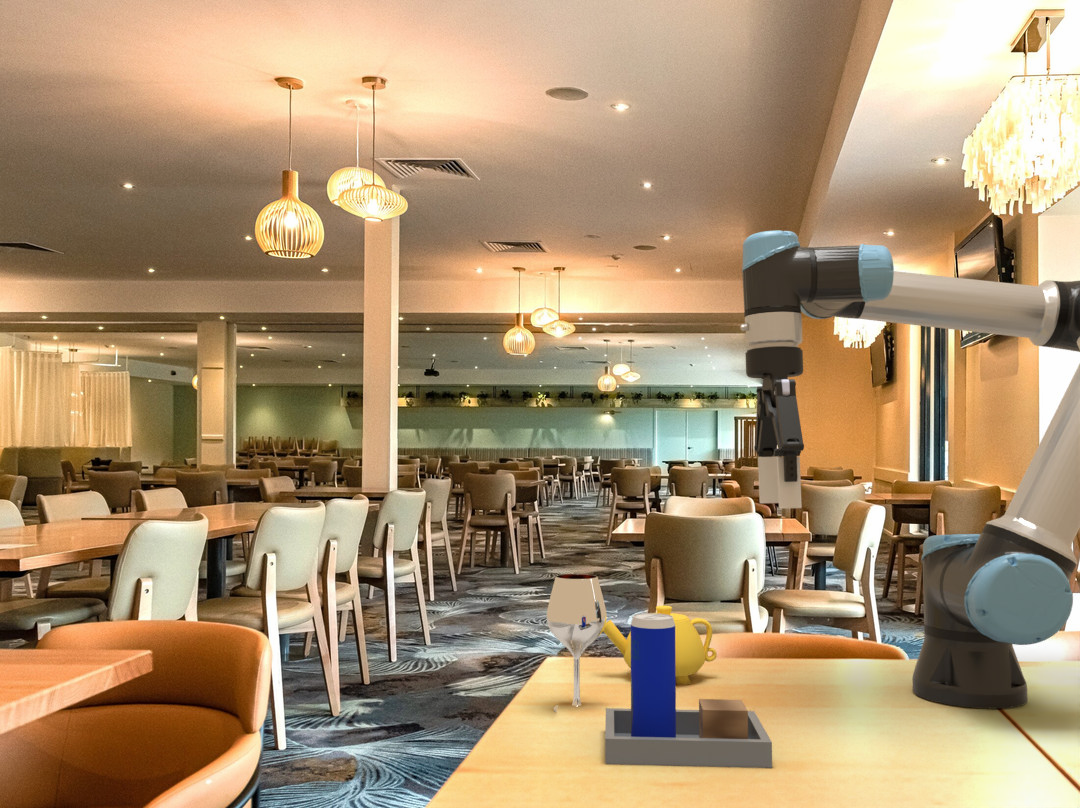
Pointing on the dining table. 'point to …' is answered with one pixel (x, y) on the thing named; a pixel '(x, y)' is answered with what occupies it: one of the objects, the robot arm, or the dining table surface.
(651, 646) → the beverage can
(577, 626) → the wineglass
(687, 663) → the teapot
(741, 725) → the walnut block
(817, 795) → the dining table surface
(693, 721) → the tray
